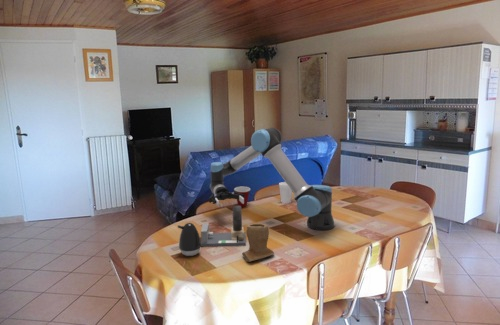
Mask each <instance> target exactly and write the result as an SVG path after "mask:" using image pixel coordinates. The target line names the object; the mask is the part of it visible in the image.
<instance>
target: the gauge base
mask: <svg viewBox="0 0 500 325" xmlns="http://www.w3.org/2000/svg"><path fill="white" fill-rule="evenodd" d="M246 237H247V233H246V232H245V231H244V240H238V243H237V240H232V233H231V232H214V231H210V222H203V223H202V225H201V230H200V241H201V247H203V248H207V247H208V248H209V247H236V246H238V247H239V246H240V247H241V246H243V247H244V246H246V245H247V239H246ZM201 247H200V248H201Z"/></svg>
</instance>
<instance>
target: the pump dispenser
mask: <svg viewBox="0 0 500 325" xmlns="http://www.w3.org/2000/svg"><path fill="white" fill-rule="evenodd" d="M177 228H178V229H180V230H181V232H180V235H179V241H178V249H179V250H180V253H182V255H184V256H185V257H194V256H195V255H197V254H199V252H200V250H201V235H200V234H199V233H200V232H198V229H197V227H196V225H195V224H194V223H191V222H187V223H185V224H184V225H180V224H179V225H177Z"/></svg>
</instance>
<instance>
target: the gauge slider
mask: <svg viewBox="0 0 500 325" xmlns="http://www.w3.org/2000/svg"><path fill="white" fill-rule="evenodd" d="M242 214H243V213H242V207H241V206H238V205H233V206H232V226H231V232H230V233H232V240H237V243H238V240H244V232H245V231H244V226H242V224H243V220H242V218H243V217H242Z"/></svg>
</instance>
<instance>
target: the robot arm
mask: <svg viewBox="0 0 500 325" xmlns="http://www.w3.org/2000/svg"><path fill="white" fill-rule="evenodd" d="M282 141H283V135H282V132H281V130H279V129H277V128H276V127H269V128H268V127H267V128H261V129H258V130H256V131H254V132H253V133H252V135H251V138H250V146H249V147H247V148H246V149H245V150H243V151H241V152H239V153H238V155H236V156H234V157H233V158H231V159H230V160H228V161H227V162H225V163H223V162H220V161H215V162H211V164H210V184H209V189H210V191H211V195H210V196H209V197H208V203H210V204H211V203H212V205H216V206H217V207H220V201H224V200H227V199H229V200H232V199H233V200H237V199H238V200H239V201H240V202H241V203H242V204H244V199H245V195H244V194H240V193H237V192H235V190H234V191H233V192H231V191H229V189H227V187H226V186H225V185H224V177H226V176H229V175H234V174H235V173H236V172H237V171H238V170H239V169H241V168H242V167H244V166H245V165H247V164H248V163H250V162H252V161H253V160H255V159H256V158H258V157H259V156H263V158H265V159H268V160H269V161H270V163H271V164H272V165H273V167H274V168H275V169H276V171H277V172H278V173H279V175H280V176H281V178H282V179H283V180H284V181H283V182H286V183H287V185H288V186H289V187H290V189H291V190H292V194H293V199H294V201H295V203H296V209H297V211H298V212H299V213H300V214H301V215H302V216H304V217H307V221H306V226H307V227H308V228H309V229H312V230H314V231H315V230H316V231H329V230H332V229H334V228H335V220H334V218H333V214H332V204H333V203H332V202H333V201H332V200H333V196H332V195H333V191H332V190H333V188H332V187H331V186H329V185H323V184H311V185H310V184H308V183H307V182H306V181H305V179H304V177H303V176H302V175H301V173H300V172H299V171H298V169H297V168H296V167H295V166H294V164H293V162H291V160H290V159H289V158H288V156H287V155H286V153H285V152H284V151H283V149H282Z"/></svg>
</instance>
